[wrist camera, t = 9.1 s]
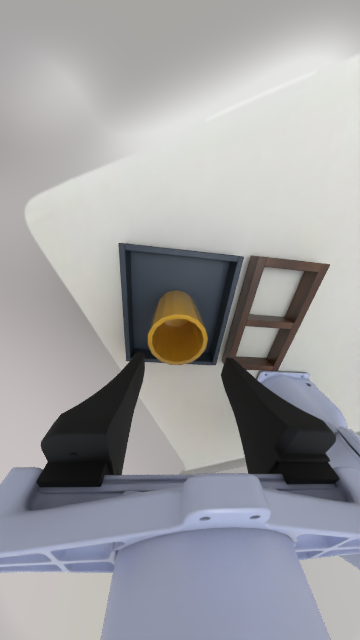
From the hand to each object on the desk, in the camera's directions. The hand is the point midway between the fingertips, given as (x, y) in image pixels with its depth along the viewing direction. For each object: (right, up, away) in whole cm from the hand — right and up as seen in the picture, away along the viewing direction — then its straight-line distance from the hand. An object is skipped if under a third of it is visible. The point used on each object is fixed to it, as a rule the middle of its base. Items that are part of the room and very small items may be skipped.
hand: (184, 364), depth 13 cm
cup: (-1, +5, +8) cm, 9 cm away
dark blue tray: (-1, +6, +8) cm, 10 cm away
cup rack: (+12, +4, +9) cm, 16 cm away
